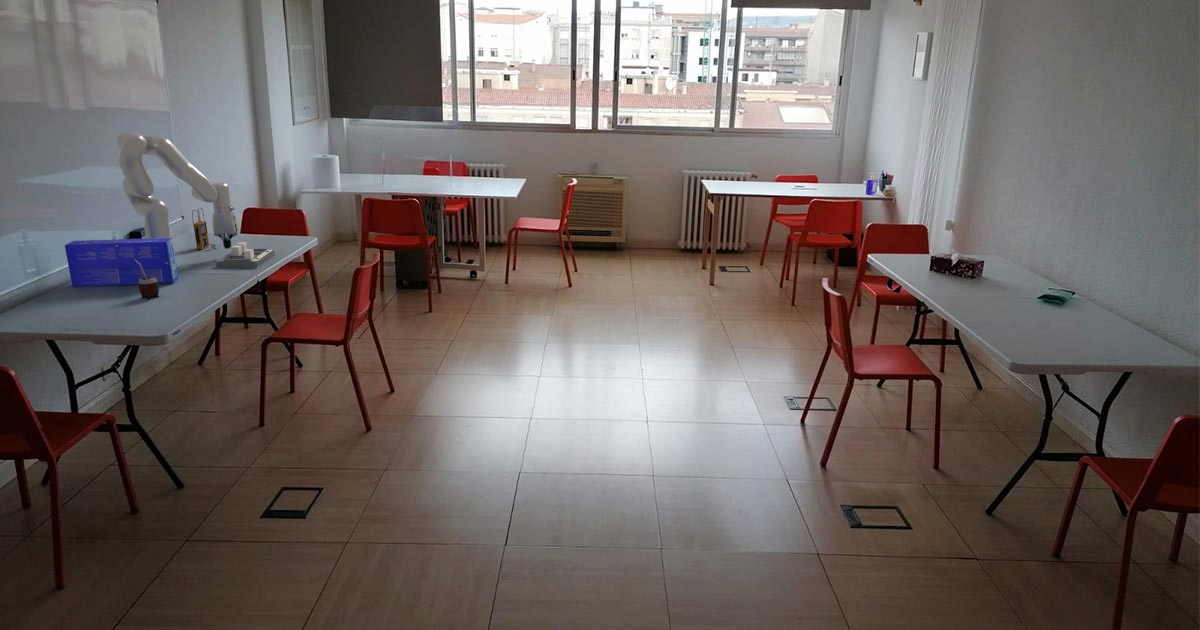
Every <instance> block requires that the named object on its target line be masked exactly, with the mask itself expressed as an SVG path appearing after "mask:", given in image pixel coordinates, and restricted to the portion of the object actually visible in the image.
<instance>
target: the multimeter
mask: <svg viewBox="0 0 1200 630" xmlns="http://www.w3.org/2000/svg"><path fill="white" fill-rule="evenodd" d="M200 209H201V210H202V216H203V218H205V214H204V209H203V208H202V207H200ZM194 211H196V212H197V218H198V221H197V222H195V223H194V222H192V225H193V231H194V236H195V243H196V250H198V252H200V250H204V249H205V250H204V252H207V251H206V250H207V249H206V248H209V247H208V246H210V245H209V244H210V241H209V235H208V233H209V232H208V226H207V221H206V220H205V219H203V220H202V219H201V216H200V213H199V212H200V210H199V209H193V210H192V213H191V215H192V216H191V218H192V220H194V217H193V216H194ZM213 246H214V245H211V248H210V249H208V250H209V251H212V250H213V249H215V248H216V250H217V249H218V248H217V247H216V246H214V247H213Z"/></svg>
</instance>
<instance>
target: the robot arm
mask: <svg viewBox="0 0 1200 630" xmlns="http://www.w3.org/2000/svg"><path fill="white" fill-rule="evenodd" d="M116 144H117V146H118V148H119V149H120V152H119V156H118V163H119V167H120V169H121V171H122V173H123V177H124V179H123V180H122V188H123V190H124V192H125V195H126V197H127V198H128V201H129V202H130V204H131V206H132V208H133V209H134V211H135V212H136V213H137V215H139V216H140V217H142V218H144V233H145V239H150V238H171V233H170V225H169V208H168V206H167V205H166V203H165V202H164V201H163V200H161V199H158V198H156V197H154V196H153V194H154V192H155V186H154V185H155V184H154V183H153V181H152V180H151V177H150V176H149V174H148V172H147V170H146V169H145V166H144V163H143V155H146V156H147V155H148V156H149V155H150V156H155V157H157V158H158V159H159V160H160V161H161V162H162V163H163V164H164V165H165V167H167V169H168V170H169V171H170V172H171V173H172V174H173V175H174V176H175V177H176V178H178V179H180V180H182V181H183V182H184V183H186V184H188V185H189V186H190V188H191V187H192V188H191V190H190V191H191V195H192V197H193V198H194V199H196V200H198V201H201V202H203V203H204V202H205V203H207V204H208V203H212V206H213V213H212V231H213V236H215V237H219V238H220V239H221V241H222V244H223V247H224V249H225V250H226V249H227V250H229V249H231V247H232V242H231V241H232V239H233V237H237V236H238V235H239V233H238V230H239V227H238V222H237V218H236V215H235V212H234V211H235V207H234V206H233V207H232V204H231V196H230V190H229V189H230V188H229V187H230V186H229V185H228V183H225V182H214V183H212V182H211V181H210V180H209V179H208V178H207V177H206V176H205V175H204V174H203V173H202V172H200V171H199V170H198V168H196V167H195V166H194V165H193V164H192V163H191V162H189V160H188V159H187V158H186V157H185V156H184V154H183V153H182V152H181V151H180V150H179V149H178V148H177V147H176V146H175V144H174V143H173V142H172V141H170V140H169V139H168V138H165V137H161V136H155V135H147V134H140V133H137V132H136V133H135V132H128V131H127V132H122V133H120V134H119V135H118V136H117V138H116ZM176 265H177V269H178V268H179V264H178V263H176Z"/></svg>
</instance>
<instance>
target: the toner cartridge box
mask: <svg viewBox="0 0 1200 630" xmlns="http://www.w3.org/2000/svg"><path fill="white" fill-rule="evenodd" d="M173 240H174V239H173V237H170V238H150V239H146V238H128V239H127V238H126V239H125V238H124V239H123V238H122V239H121V238H120V239H117V238H116V239H92V240H91V239H90V240H88V239H87V240H72V241H69V242H68V243H66V244H65V245H64V249H65V255H66V261H67V264H68V270H69V276H70V277H69V278H70V281H71V287H72V288H86V287H88V288H89V287H90V288H91V287H92V288H93V287H94V288H95V287H115V286H117V287H118V286H119V287H120V286H121V287H122V286H138V282H139V280H140V278H143V277H144V275H143V272H142V270H141V268H140V266H139V264H138V263H137V262H136V261H135V259H136V260H137V261H138V262H139V263H140V264H141V265H142V268H143V271H144V273H145V275H146V277H155V278H156V279H157V281H158V284H159V285H160V284H162V285H165V284H170V285H171V284H174V283H176V282H177V281H178V280H179V275H178V274H179V272H178V268H177V265H176V264H177V260H176V253H175V247H174V241H173Z"/></svg>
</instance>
